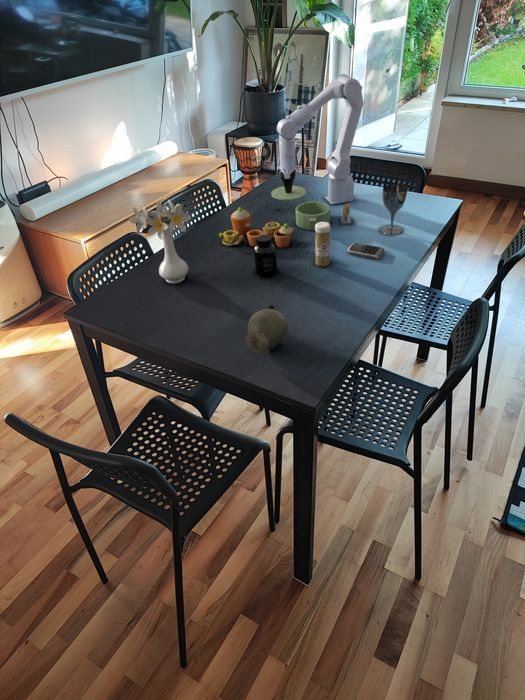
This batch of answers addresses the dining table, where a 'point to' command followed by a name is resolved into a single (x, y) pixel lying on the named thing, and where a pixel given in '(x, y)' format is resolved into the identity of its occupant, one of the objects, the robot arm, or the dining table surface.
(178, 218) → the flower vase
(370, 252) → the cell phone
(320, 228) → the sprinkles bottle
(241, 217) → the toy tea set
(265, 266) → the supplement bottle
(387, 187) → the wine glass
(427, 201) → the dining table surface
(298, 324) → the dining table surface
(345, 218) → the masher
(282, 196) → the pot lid
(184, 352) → the dining table surface
